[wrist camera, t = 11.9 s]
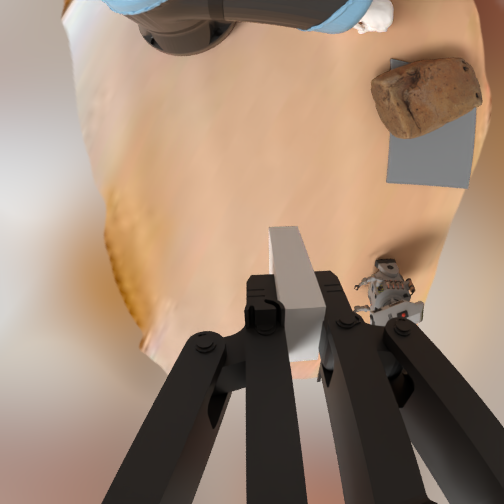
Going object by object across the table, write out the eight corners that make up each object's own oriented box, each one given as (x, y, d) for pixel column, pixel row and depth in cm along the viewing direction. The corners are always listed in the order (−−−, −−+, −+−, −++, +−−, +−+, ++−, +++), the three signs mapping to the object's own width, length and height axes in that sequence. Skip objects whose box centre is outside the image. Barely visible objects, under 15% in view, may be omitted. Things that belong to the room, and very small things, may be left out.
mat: (390, 59, 36) (391, 58, 35) (474, 83, 36) (476, 83, 35) (386, 182, 46) (387, 183, 46) (466, 187, 46) (467, 188, 46)
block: (388, 139, 42) (465, 104, 38) (410, 145, 35) (491, 107, 31) (360, 80, 38) (444, 51, 34) (380, 76, 31) (469, 47, 27)
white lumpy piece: (398, 29, 27) (312, 9, 27) (379, 40, 34) (306, 24, 35) (398, -6, 24) (315, -27, 24) (380, 9, 31) (309, -7, 31)
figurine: (348, 259, 54) (375, 310, 41) (399, 257, 54) (434, 303, 41) (341, 298, 58) (362, 351, 45) (390, 294, 58) (418, 342, 45)
